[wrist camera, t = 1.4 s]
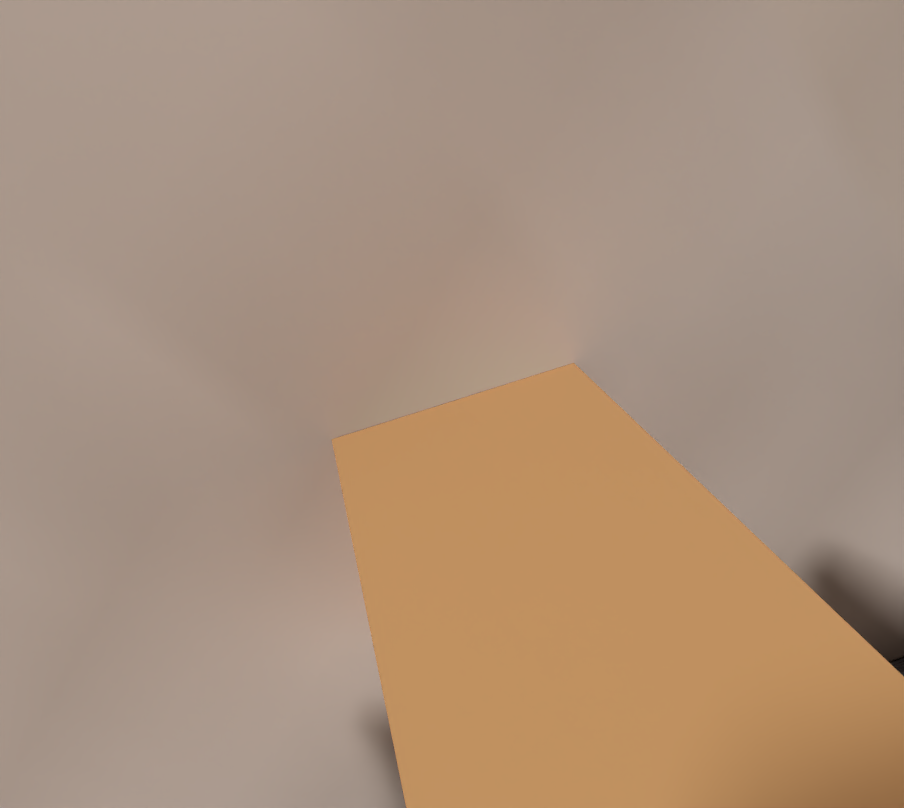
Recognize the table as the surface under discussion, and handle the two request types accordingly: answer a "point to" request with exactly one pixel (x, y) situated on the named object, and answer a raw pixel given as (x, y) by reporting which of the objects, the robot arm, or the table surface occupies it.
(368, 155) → the table surface
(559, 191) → the table surface
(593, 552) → the orange peg
